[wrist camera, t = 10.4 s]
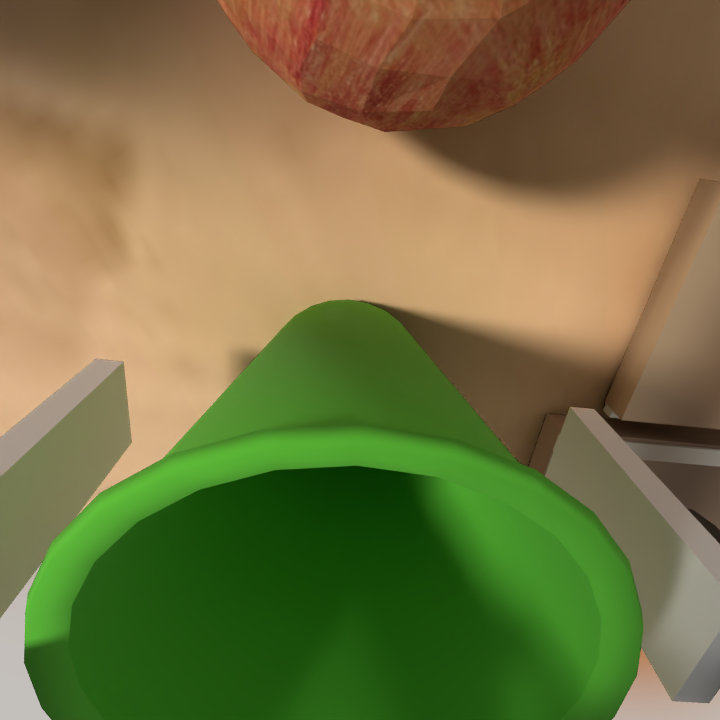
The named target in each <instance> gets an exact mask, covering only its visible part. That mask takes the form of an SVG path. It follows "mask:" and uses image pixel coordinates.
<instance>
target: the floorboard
mask: <svg viewBox="0 0 720 720" xmlns="http://www.w3.org/2000/svg"><path fill="white" fill-rule="evenodd" d="M566 416H567V415H557V414H546V417H545V420H544V423H543V426H542V429H541V432H540V435H539V437H538V440H537V443H536V446H535V449H534V452H533V455H532V458H531V461H530V463H529V466H528V467H530V468H533V469H535V470H537V471H538V472H540V473H541V474H542V475H544V476H545V474H546V472H547V469H548V466H549V463H550V461H551V458H552V455H553V452H554V449H555V447H556V444H557V441H558V438H559V436H560V433H561V430H562V427H563V424H564V422H565V419H566ZM604 420H605V421H606V422H607V423H608V424H609V426H610V427H611V428H612V429H613V430H614V431H615V432H616V433H617V434H618V435H619V436H620V437H621V438H622V440H623V441H624V442H625V443H626V444H627V445H628V446H629V447H630V448H631V449H632V450H633V451H634V452H635V453H636V455H637V456H638V457H639V458H640V459H641V460H642V461H643V462H644V463H645V464H646V465H647V466H648V467H649V469H650V470H651V471H652V472H653V473H654V474H655V475H656V476H657V477H658V478H659V479H660V480H661V481H662V483H663V484H664V485H665V486H666V487H667V488H668V489H669V490H670V491H671V492H672V493H673V494H674V495H675V497H676V498H677V499H678V500H679V501H680V502H681V503H682V504H683V505H684V506H685V507H686V508H687V509H693V510H694V511H696V512H697V513H698V514H700V515H701V516H703V517H704V518H705V519H707V520H708V521H710V522H711V523H713V524H714V525H715V526H716V527H717V528H718V529H719V530H720V430H714V429H704V428H693V427H683V426H672V425H662V424H651V423H641V422H631V421H620V420H610V419H604Z"/></svg>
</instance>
